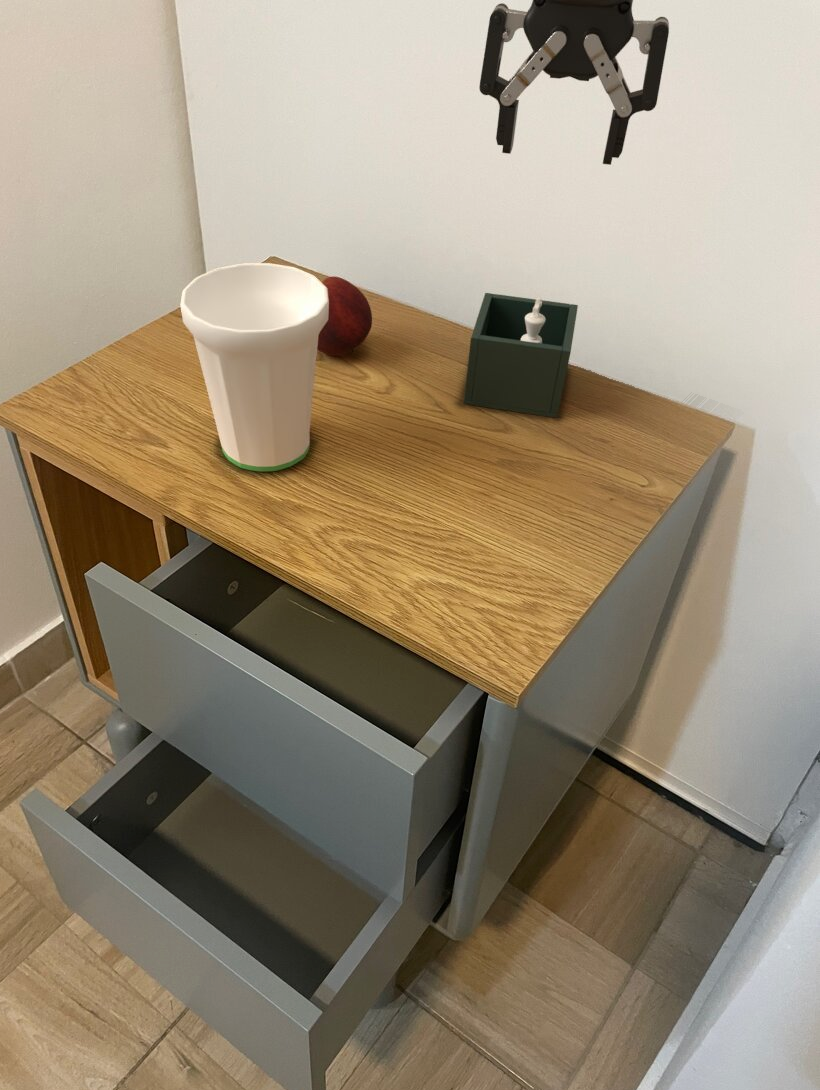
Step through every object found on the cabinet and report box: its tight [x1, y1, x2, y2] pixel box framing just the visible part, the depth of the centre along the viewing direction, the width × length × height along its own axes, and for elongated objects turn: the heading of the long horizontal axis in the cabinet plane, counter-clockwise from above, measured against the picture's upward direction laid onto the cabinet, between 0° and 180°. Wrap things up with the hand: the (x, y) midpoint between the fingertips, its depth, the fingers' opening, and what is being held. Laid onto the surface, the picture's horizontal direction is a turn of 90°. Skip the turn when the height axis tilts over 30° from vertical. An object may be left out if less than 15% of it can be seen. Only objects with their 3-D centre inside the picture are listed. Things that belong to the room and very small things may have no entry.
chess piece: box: [521, 296, 546, 343], centre depth 88 cm, size 5×5×10 cm
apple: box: [317, 276, 373, 356], centre depth 94 cm, size 7×8×8 cm
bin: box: [463, 292, 579, 419], centre depth 90 cm, size 10×10×8 cm
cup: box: [179, 262, 329, 472], centre depth 79 cm, size 12×12×15 cm
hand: (557, 156), depth 75 cm, fingers open, 8 cm apart
